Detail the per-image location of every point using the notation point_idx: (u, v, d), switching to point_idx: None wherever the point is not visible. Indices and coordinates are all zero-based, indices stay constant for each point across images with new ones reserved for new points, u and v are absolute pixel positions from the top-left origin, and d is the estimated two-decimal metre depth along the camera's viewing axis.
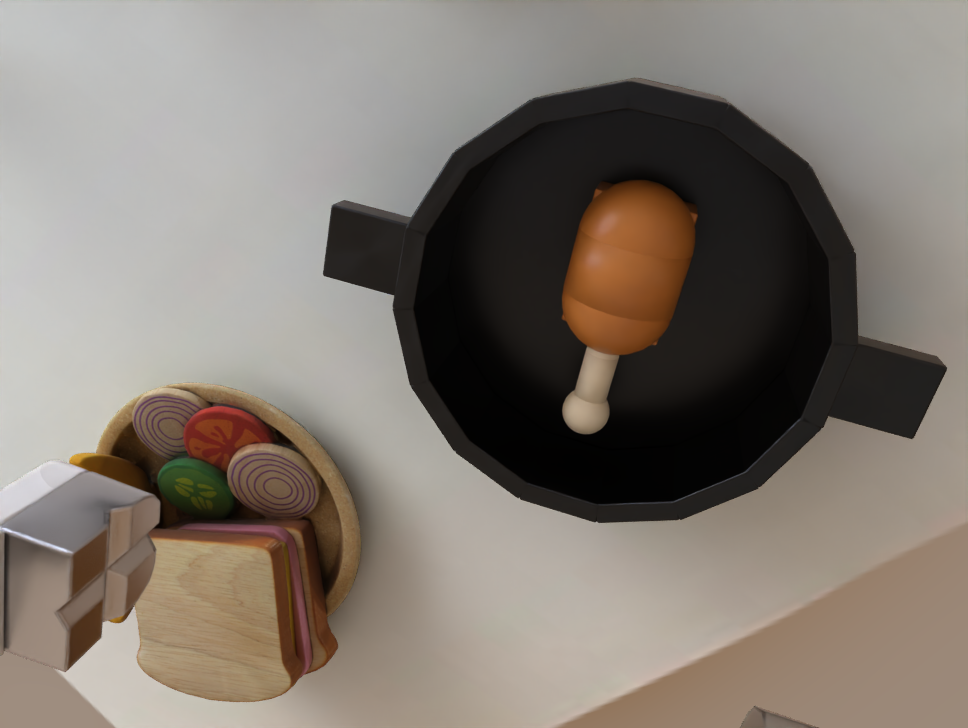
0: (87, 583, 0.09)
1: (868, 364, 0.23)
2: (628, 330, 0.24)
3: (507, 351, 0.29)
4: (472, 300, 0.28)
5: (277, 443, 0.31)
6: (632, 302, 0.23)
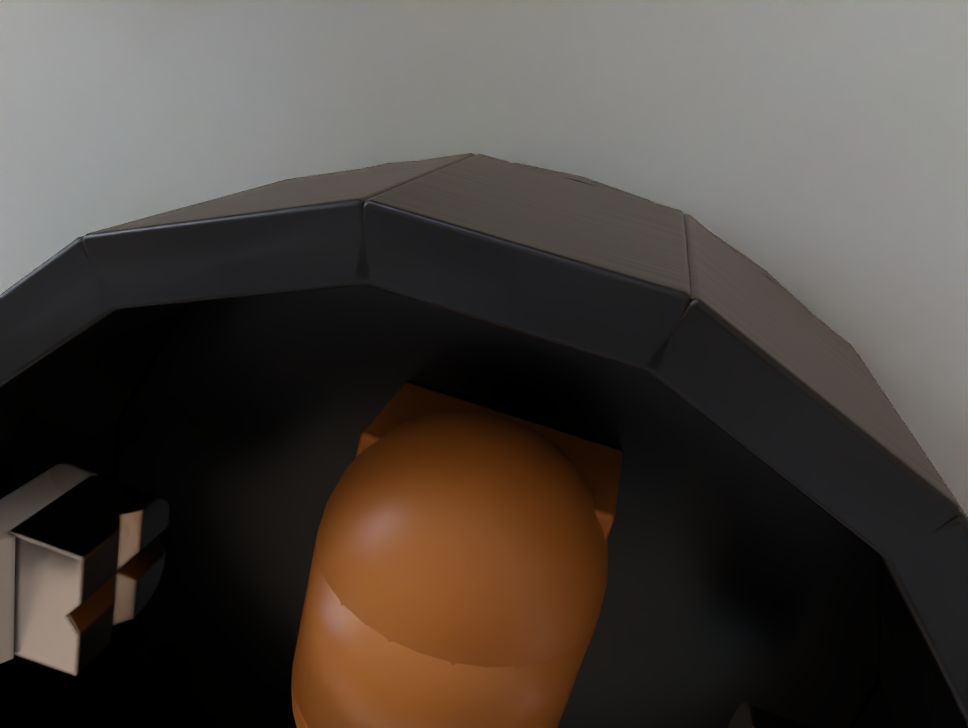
0: (97, 587, 0.09)
1: None
2: None
3: (241, 687, 0.14)
4: (164, 588, 0.13)
5: None
6: None
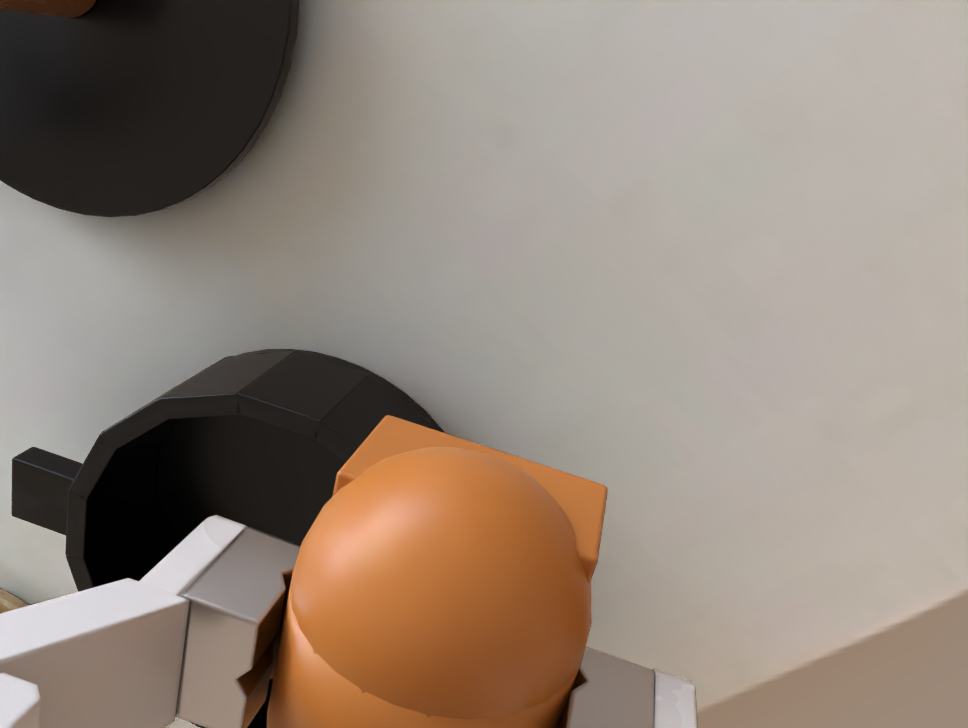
0: (263, 648, 0.09)
1: None
2: None
3: None
4: (177, 522, 0.30)
5: None
6: None
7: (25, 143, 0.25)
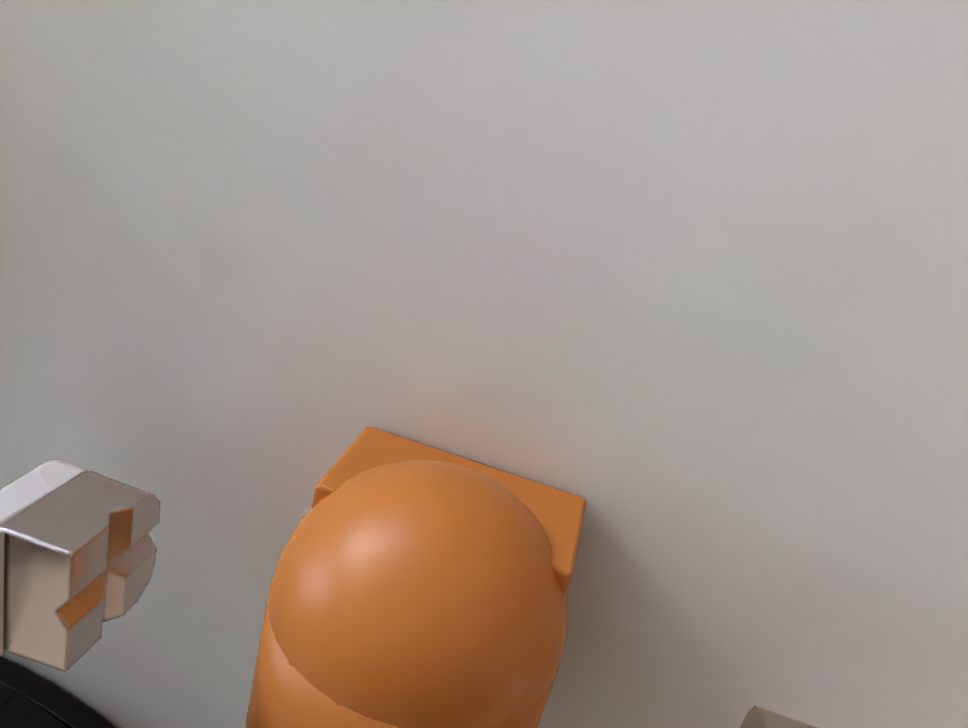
0: (87, 583, 0.09)
1: None
2: None
3: None
4: None
5: None
6: None
7: None
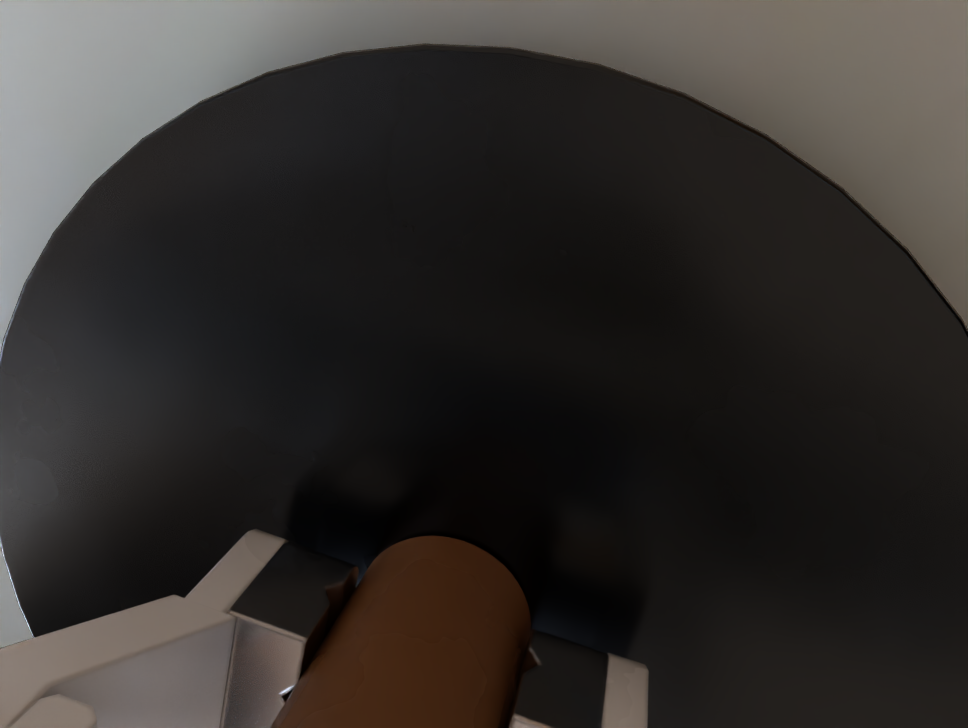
0: (308, 664, 0.09)
1: None
2: None
3: None
4: None
5: None
6: None
7: None
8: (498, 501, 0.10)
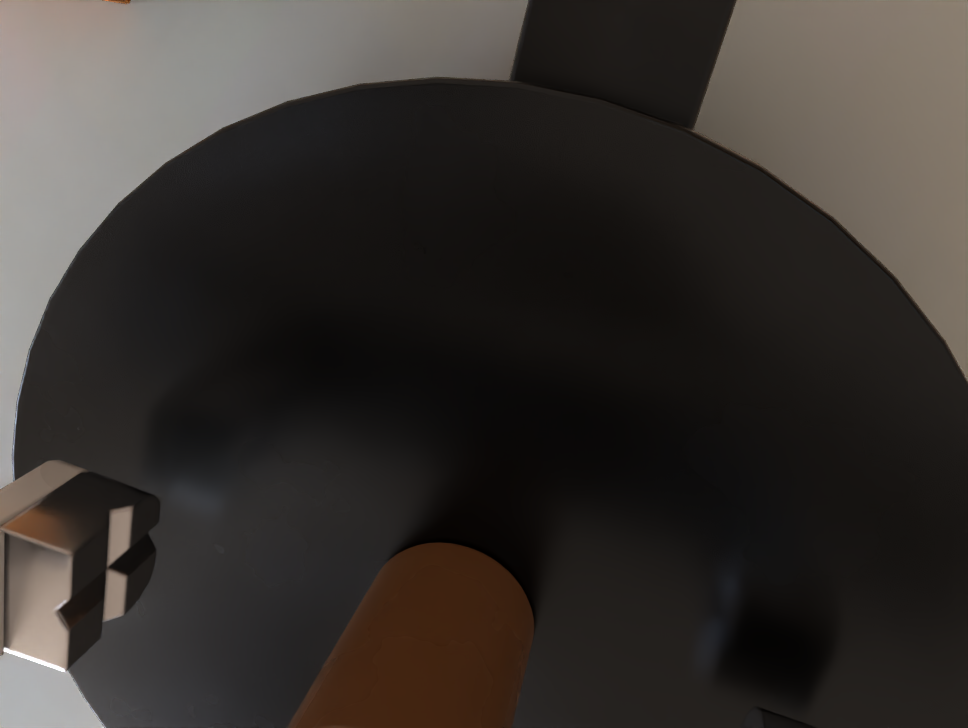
0: (87, 583, 0.09)
1: (557, 48, 0.10)
2: None
3: None
4: None
5: None
6: None
7: None
8: (504, 510, 0.10)
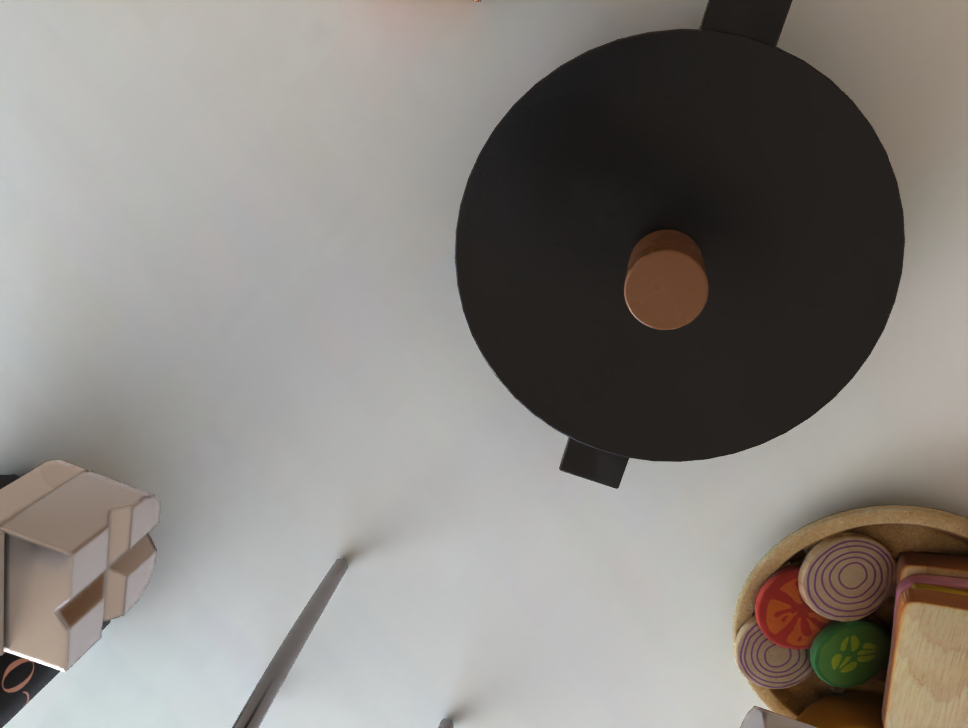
0: (87, 583, 0.09)
1: (720, 19, 0.24)
2: None
3: None
4: None
5: (801, 563, 0.33)
6: None
7: (812, 348, 0.26)
8: (693, 212, 0.25)
